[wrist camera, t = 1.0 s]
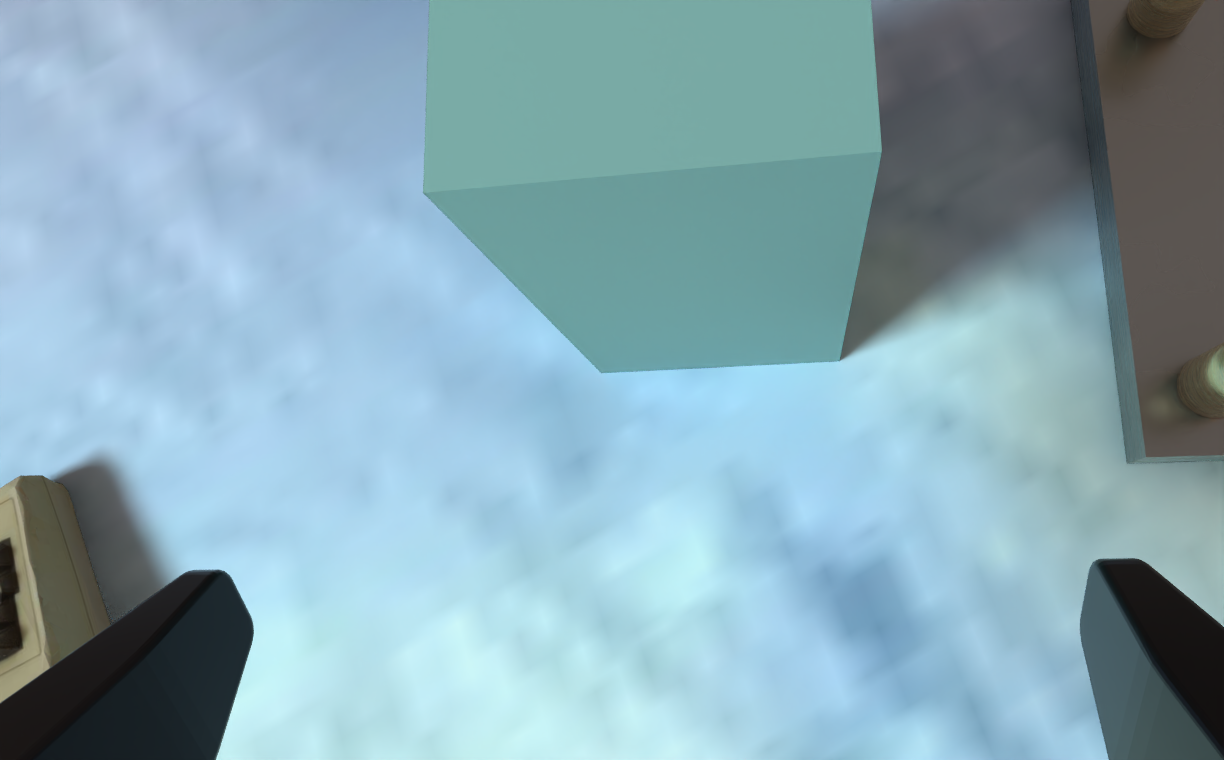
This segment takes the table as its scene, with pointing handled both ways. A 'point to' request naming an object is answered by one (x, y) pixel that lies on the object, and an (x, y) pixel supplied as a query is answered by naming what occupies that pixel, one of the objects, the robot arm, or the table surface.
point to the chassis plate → (1160, 213)
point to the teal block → (662, 168)
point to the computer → (42, 582)
